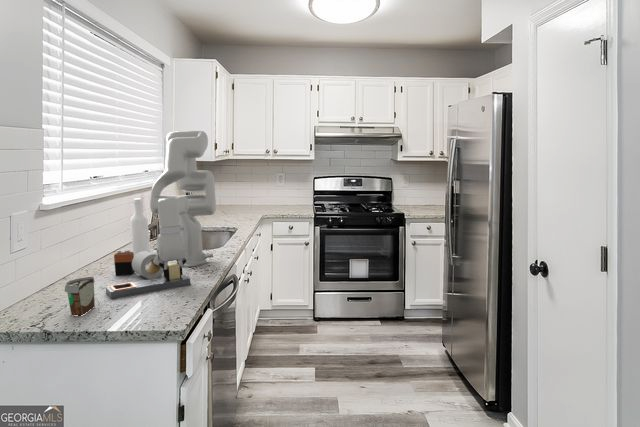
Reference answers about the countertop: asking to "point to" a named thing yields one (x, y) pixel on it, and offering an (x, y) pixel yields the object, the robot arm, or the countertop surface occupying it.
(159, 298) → the countertop surface
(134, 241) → the bottle
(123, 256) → the battery
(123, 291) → the rail
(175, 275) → the tan wooden block
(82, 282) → the food container
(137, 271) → the toilet paper
